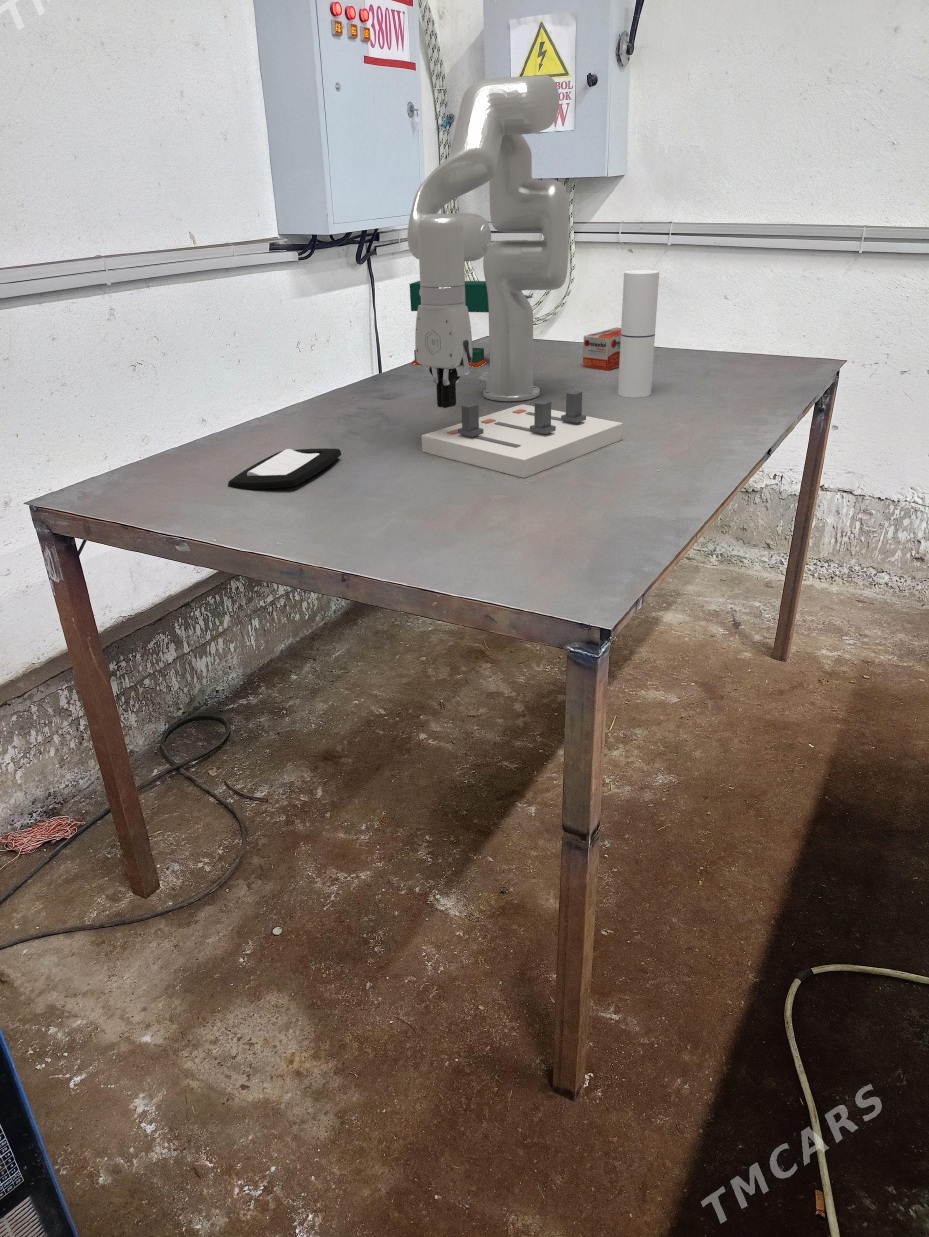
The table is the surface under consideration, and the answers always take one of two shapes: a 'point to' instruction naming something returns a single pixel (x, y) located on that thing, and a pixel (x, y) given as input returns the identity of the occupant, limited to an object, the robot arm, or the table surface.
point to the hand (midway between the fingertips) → (446, 406)
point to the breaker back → (573, 407)
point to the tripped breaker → (470, 420)
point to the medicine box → (602, 349)
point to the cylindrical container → (638, 332)
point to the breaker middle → (542, 418)
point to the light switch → (285, 468)
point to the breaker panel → (522, 441)
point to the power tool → (473, 300)
